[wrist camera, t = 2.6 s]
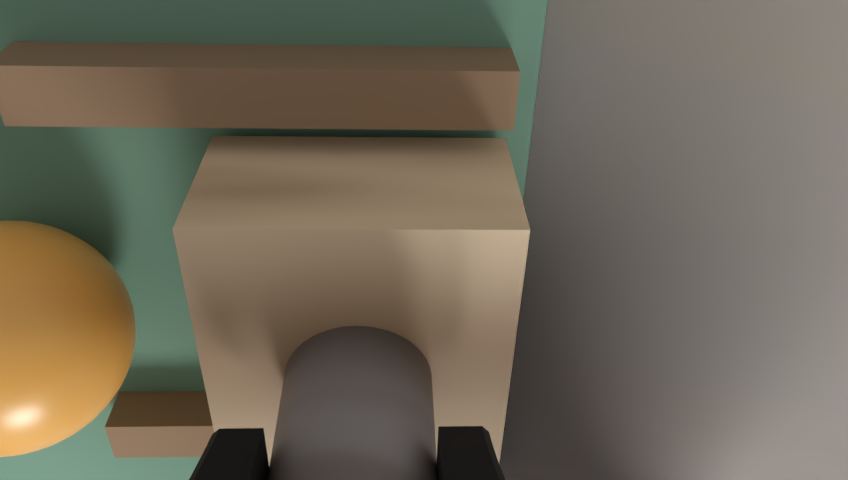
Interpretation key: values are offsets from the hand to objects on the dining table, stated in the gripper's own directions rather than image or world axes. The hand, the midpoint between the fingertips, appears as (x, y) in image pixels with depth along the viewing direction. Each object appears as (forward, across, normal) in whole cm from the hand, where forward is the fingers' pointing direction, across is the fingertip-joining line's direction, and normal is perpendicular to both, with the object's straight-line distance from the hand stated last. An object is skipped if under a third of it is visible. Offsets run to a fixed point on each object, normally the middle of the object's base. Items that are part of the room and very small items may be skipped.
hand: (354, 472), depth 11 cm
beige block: (+5, 0, 0) cm, 5 cm away
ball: (+3, +6, 0) cm, 7 cm away
